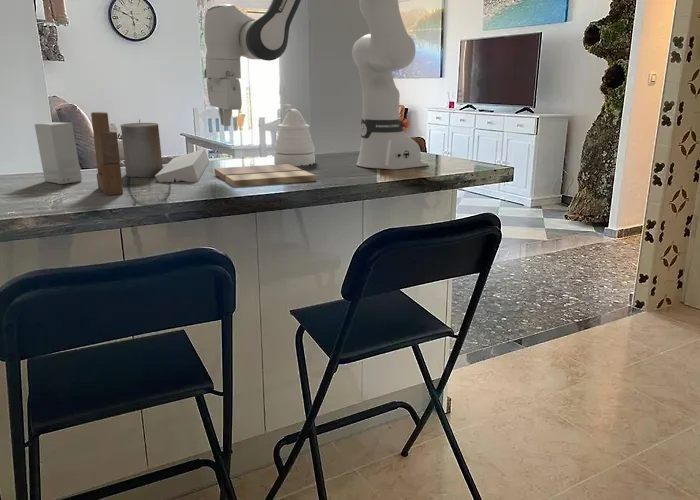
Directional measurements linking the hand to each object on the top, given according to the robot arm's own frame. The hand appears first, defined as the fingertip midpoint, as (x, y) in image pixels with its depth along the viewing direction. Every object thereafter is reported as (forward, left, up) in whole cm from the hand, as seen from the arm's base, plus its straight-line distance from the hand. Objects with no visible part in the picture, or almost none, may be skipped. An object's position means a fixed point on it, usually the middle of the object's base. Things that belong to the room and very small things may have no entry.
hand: (225, 125), depth 154 cm
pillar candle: (+20, -12, -14) cm, 27 cm away
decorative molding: (+9, -13, -15) cm, 22 cm away
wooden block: (+31, +10, -14) cm, 35 cm away
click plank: (-8, +2, -13) cm, 16 cm away
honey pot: (-26, -17, -14) cm, 34 cm away
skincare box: (+41, -8, -14) cm, 44 cm away
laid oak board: (-8, +12, -14) cm, 20 cm away
